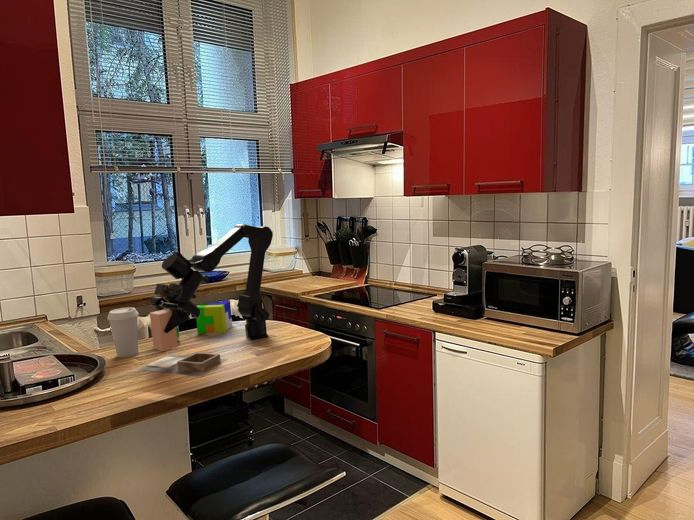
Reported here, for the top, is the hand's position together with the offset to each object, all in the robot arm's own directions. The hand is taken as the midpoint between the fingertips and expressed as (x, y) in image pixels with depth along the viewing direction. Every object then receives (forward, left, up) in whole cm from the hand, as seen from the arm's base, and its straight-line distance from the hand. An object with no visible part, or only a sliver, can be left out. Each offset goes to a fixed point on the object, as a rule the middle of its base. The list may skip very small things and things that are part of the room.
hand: (159, 331), depth 152 cm
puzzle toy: (-24, -34, -12) cm, 43 cm away
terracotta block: (-1, -1, -5) cm, 6 cm away
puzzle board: (-5, +4, -11) cm, 13 cm away
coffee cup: (+8, -22, -12) cm, 26 cm away
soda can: (-6, -28, -12) cm, 31 cm away
